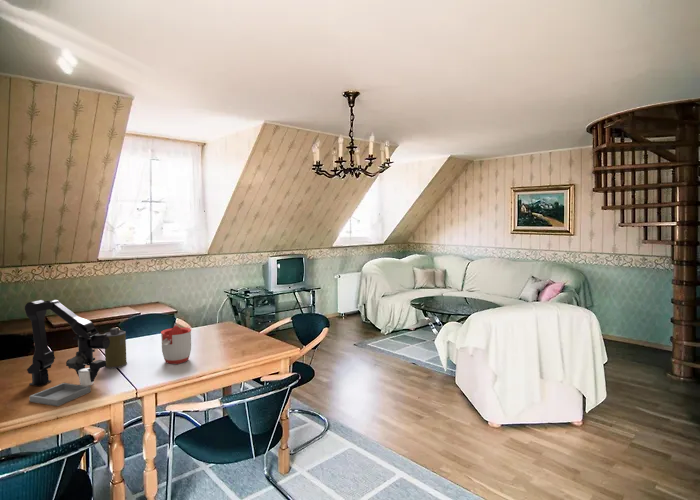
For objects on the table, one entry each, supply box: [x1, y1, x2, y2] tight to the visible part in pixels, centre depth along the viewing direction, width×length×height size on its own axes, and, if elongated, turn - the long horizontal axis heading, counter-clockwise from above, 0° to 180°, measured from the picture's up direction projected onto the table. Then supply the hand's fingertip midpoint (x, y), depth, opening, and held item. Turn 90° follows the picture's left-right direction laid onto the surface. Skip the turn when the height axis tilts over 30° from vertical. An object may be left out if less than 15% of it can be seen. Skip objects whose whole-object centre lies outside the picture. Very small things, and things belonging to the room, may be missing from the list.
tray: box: [28, 382, 92, 407], centre depth 193 cm, size 16×16×2 cm
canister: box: [104, 327, 128, 369], centre depth 235 cm, size 11×10×20 cm
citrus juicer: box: [160, 325, 192, 365], centre depth 240 cm, size 16×17×20 cm
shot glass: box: [77, 367, 95, 386], centre depth 208 cm, size 7×7×7 cm
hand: (87, 380), depth 208 cm, fingers open, 6 cm apart
